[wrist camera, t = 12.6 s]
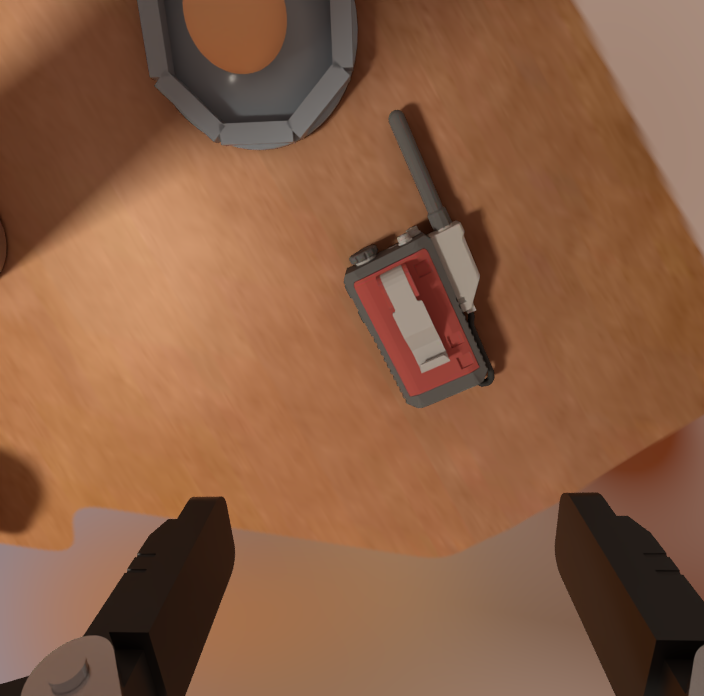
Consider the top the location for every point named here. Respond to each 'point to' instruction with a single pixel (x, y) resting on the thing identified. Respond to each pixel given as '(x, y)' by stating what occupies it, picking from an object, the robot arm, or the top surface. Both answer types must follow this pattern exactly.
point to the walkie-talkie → (422, 297)
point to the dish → (256, 74)
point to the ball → (237, 31)
